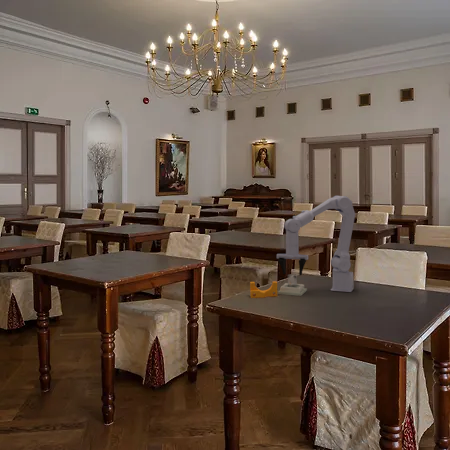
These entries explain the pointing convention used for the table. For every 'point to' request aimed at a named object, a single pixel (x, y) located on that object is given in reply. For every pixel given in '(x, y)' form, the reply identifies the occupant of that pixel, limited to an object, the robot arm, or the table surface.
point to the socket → (292, 290)
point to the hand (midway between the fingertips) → (292, 274)
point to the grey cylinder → (292, 280)
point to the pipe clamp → (263, 291)
